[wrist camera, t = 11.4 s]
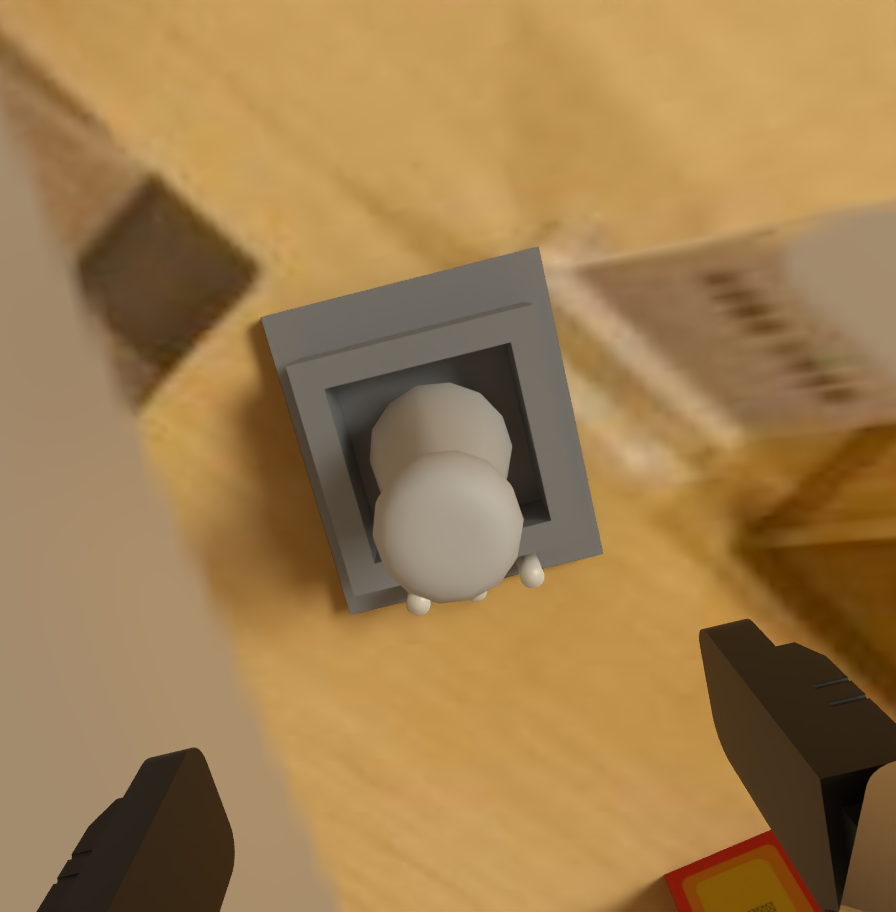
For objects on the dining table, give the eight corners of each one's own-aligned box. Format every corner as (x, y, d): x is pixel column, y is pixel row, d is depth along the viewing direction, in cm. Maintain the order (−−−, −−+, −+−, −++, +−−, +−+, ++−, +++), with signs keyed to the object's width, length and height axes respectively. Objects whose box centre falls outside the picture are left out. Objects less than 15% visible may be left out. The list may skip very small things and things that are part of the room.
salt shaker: (381, 509, 34) (353, 649, 21) (365, 383, 32) (325, 450, 20) (511, 495, 34) (562, 627, 21) (500, 368, 32) (547, 426, 20)
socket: (265, 316, 32) (243, 321, 29) (535, 247, 32) (550, 243, 28) (352, 605, 36) (343, 645, 32) (598, 546, 35) (619, 579, 31)
